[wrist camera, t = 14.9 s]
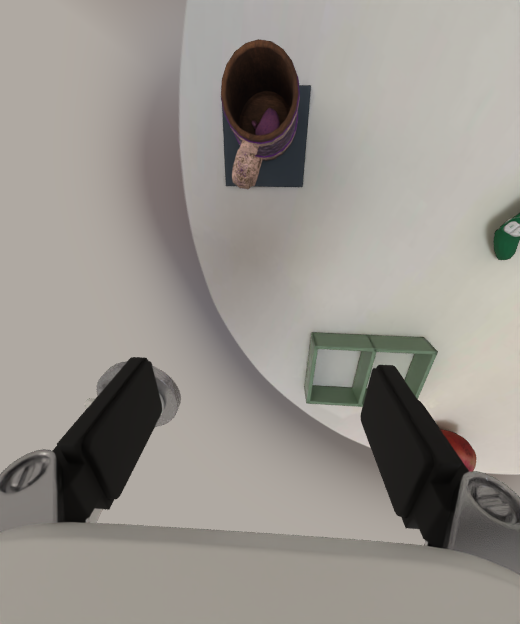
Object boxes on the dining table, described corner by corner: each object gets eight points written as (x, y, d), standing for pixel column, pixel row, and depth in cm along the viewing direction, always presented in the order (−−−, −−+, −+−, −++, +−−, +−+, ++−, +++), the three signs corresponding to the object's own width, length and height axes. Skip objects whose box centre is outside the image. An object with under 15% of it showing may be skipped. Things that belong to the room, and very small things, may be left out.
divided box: (304, 387, 48) (306, 403, 44) (311, 332, 42) (314, 345, 38) (402, 392, 47) (413, 409, 43) (424, 337, 41) (438, 351, 37)
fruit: (407, 440, 53) (433, 491, 44) (429, 415, 49) (462, 466, 40) (441, 448, 53) (474, 500, 44) (465, 425, 50) (506, 477, 41)
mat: (226, 185, 32) (225, 185, 32) (221, 87, 28) (221, 85, 27) (302, 187, 32) (302, 187, 32) (310, 86, 27) (310, 85, 27)
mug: (246, 76, 27) (226, 4, 16) (306, 102, 28) (324, 50, 17) (222, 176, 32) (194, 171, 21) (274, 196, 32) (272, 202, 22)
